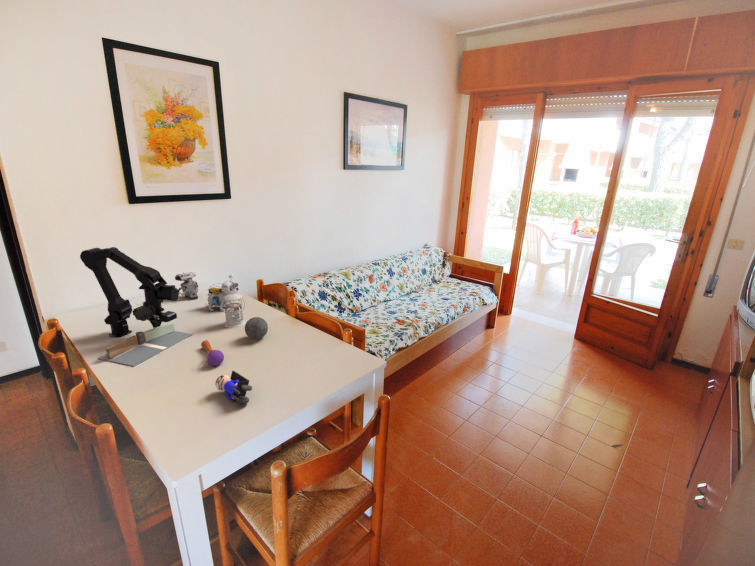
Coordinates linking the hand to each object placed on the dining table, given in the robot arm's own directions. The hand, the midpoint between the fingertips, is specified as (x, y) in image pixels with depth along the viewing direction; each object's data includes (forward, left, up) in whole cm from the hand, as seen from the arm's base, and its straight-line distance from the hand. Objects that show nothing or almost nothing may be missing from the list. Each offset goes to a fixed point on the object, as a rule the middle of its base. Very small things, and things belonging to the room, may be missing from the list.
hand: (157, 331), depth 165 cm
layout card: (+4, -9, -2) cm, 10 cm away
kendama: (+35, -8, -3) cm, 36 cm away
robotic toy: (+4, +39, -2) cm, 39 cm away
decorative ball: (+42, +13, -2) cm, 44 cm away
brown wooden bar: (0, -15, -2) cm, 16 cm away
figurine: (-24, +44, -2) cm, 50 cm away
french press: (+23, +24, -2) cm, 34 cm away
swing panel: (+2, -1, -1) cm, 3 cm away
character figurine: (+61, -28, -2) cm, 67 cm away
